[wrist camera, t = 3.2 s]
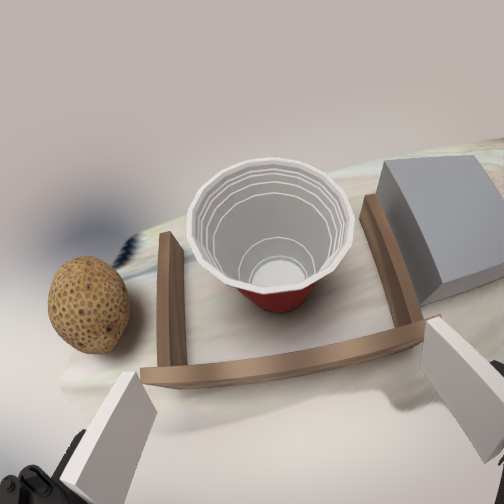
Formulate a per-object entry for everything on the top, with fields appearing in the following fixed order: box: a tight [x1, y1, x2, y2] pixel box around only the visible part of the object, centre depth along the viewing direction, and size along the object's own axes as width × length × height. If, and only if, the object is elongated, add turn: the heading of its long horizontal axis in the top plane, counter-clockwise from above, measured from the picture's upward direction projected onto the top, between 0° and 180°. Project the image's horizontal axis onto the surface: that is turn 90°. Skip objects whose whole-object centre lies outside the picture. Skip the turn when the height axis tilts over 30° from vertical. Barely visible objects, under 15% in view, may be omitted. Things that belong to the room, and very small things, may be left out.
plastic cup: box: [186, 157, 355, 313], centre depth 22 cm, size 11×11×12 cm
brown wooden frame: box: [140, 194, 442, 389], centre depth 24 cm, size 22×15×7 cm
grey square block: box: [376, 155, 504, 306], centre depth 24 cm, size 14×14×6 cm
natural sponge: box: [48, 256, 130, 354], centre depth 24 cm, size 9×9×10 cm
